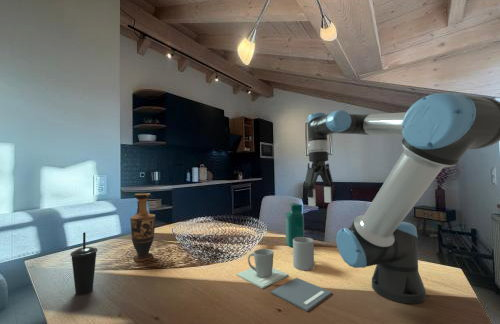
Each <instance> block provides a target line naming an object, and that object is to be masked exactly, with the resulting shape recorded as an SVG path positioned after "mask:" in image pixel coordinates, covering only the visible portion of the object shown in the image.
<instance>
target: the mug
mask: <svg viewBox="0 0 500 324" xmlns="http://www.w3.org/2000/svg"><path fill="white" fill-rule="evenodd" d="M314 243H315V241H314V239H313V238H311V237H306V236H304V237H296V238H294V239H293V247H292V253H293V254H292V261H293V262H292V263H293V264H292V265H293V267H294V268H295V269H297V270H299V271H304V272H306V271H311V270H313V269H314V268H315V253H314V252H315V251H314V249H315V247H314V245H315V244H314Z"/></svg>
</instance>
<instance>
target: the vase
mask: <svg viewBox="0 0 500 324" xmlns="http://www.w3.org/2000/svg"><path fill="white" fill-rule="evenodd" d="M134 197H135V199H136V200H137V209H136V210H137V211H136V212H135V214H134V215H132V216H130V217H129V221H130V222H129V223H130V232H131V233H130V234H131V235H130V236H131V242H132V246H133V247H134V249H135V251H136V253H137V254H136V255H134V256H133V258H132V260H133V261H134V260H135V261H134V262H138V261H141V262H146V261H145V260H147V261H149V260H151V259H153V258H154V253H152V252H150V251H151V247H152V244H153V242H154V237H155V230H156V214H153V213H149V212H148V208H147V206H148V205H147V202H148V200H149V199H150V197H151V193H149V192H148V193H146V192H145V193H141V192H140V193H135V194H134ZM148 259H149V260H148Z"/></svg>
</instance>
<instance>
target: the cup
mask: <svg viewBox="0 0 500 324" xmlns="http://www.w3.org/2000/svg"><path fill="white" fill-rule="evenodd" d="M251 257H253V259H254V264H255V266H256V267H255V266H253V265H252V264H251V261H250V258H251ZM247 262H248V266H249V268H252V269H253V270H254V271H256V272H257V275H258V276H259V277H270V276H271V275H272V268H274V267H273V266H274V250H272V249H270V248H259V249H255V250H254V251H253V252H251V253H249V255H248V257H247Z"/></svg>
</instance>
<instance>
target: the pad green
mask: <svg viewBox="0 0 500 324" xmlns="http://www.w3.org/2000/svg"><path fill="white" fill-rule="evenodd" d="M254 267H256V265H255V266H254ZM236 275H237V277H238V276H239V278H241V279H242V280H245V281H246V282H248V283H250V284H252V285H255V286H256V287H258V288H260V289H262V290H264V289H265V288H267V287H269V286H270V285H273V284H274V283H277V282H279V281H280V280H283V279H284V278H287V277H288V276H289V273H286V272H285V271H284V272H283V271H282V270H279V269H277V268H274V267H273V268H272V275H271V276H270V277H259V276H258V275H257V272H256V271H254V270H253V269H252V268H251V267H249V268H248V269H245V270H243V271H241V272H237V273H236Z"/></svg>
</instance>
